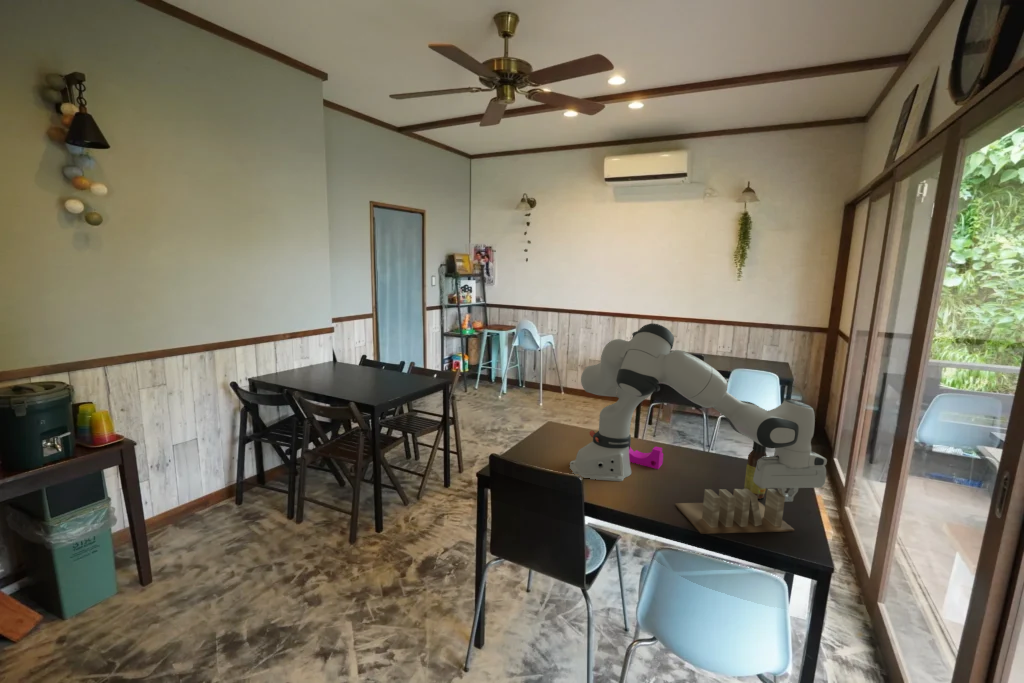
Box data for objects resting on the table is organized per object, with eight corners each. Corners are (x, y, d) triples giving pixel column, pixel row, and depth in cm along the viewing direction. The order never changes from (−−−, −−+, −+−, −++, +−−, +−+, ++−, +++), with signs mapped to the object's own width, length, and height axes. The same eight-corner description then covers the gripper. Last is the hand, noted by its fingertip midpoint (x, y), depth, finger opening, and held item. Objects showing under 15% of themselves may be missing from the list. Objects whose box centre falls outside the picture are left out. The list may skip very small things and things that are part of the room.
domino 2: (725, 527, 130) (729, 497, 129) (716, 517, 135) (719, 489, 134) (732, 526, 130) (735, 497, 129) (722, 517, 135) (725, 489, 134)
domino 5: (774, 526, 131) (778, 497, 130) (763, 517, 136) (767, 488, 135) (781, 526, 132) (785, 496, 130) (769, 517, 137) (773, 488, 135)
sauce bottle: (764, 501, 147) (771, 442, 144) (742, 496, 151) (749, 438, 148) (765, 493, 153) (772, 437, 150) (744, 488, 156) (750, 433, 153)
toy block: (662, 464, 175) (664, 445, 174) (658, 470, 170) (659, 450, 169) (624, 455, 183) (625, 437, 182) (619, 460, 177) (620, 442, 176)
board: (700, 533, 127) (701, 531, 127) (675, 505, 143) (675, 503, 143) (794, 531, 130) (794, 529, 130) (758, 503, 146) (759, 501, 146)
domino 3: (740, 526, 131) (744, 497, 129) (730, 517, 136) (733, 489, 134) (747, 526, 131) (750, 497, 130) (737, 517, 136) (740, 488, 134)
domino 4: (755, 526, 131) (750, 498, 130) (745, 517, 136) (740, 490, 135) (761, 524, 131) (757, 496, 130) (751, 515, 136) (746, 488, 135)
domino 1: (710, 527, 130) (713, 497, 128) (701, 518, 135) (704, 489, 133) (717, 527, 130) (720, 497, 129) (708, 518, 135) (711, 489, 134)
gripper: (765, 460, 128) (759, 506, 130) (832, 459, 130) (826, 505, 132) (751, 451, 134) (746, 496, 136) (815, 451, 136) (809, 494, 138)
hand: (786, 500), depth 134 cm, fingers closed
